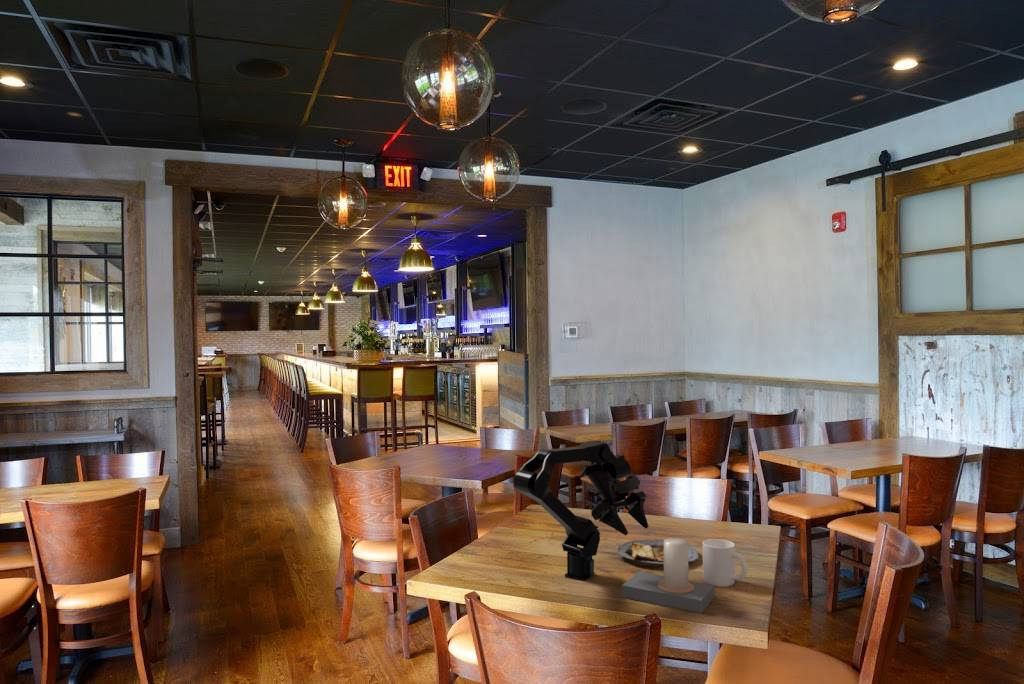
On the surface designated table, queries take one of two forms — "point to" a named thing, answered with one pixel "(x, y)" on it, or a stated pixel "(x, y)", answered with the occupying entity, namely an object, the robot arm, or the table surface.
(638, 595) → the plinth
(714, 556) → the mug
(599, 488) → the robot arm
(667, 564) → the canister
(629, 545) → the food plate
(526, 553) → the table surface
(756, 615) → the table surface
